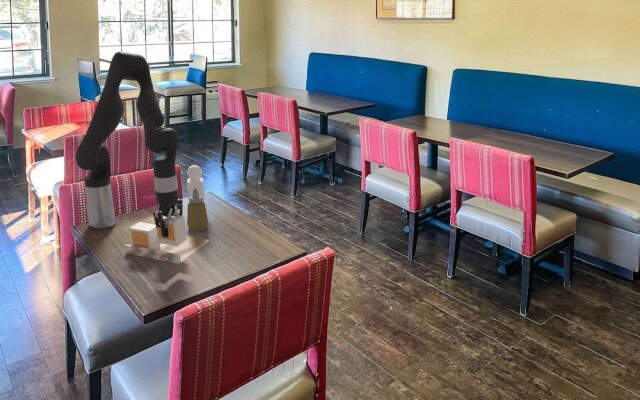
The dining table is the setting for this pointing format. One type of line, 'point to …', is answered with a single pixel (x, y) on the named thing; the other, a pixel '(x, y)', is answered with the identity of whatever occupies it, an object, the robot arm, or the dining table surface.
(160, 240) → the turned carton
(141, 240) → the faced carton
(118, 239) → the dining table surface
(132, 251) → the shelf board
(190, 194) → the white figurine
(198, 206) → the squeeze bottle
